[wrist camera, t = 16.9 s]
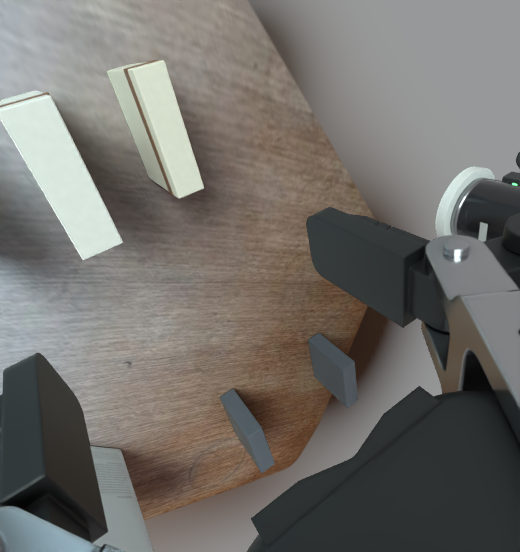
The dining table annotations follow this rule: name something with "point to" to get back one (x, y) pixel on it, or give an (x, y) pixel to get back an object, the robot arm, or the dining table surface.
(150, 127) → the cream books
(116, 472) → the small box
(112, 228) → the white box
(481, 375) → the robot arm
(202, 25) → the dining table surface
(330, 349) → the grey parallel blocks
